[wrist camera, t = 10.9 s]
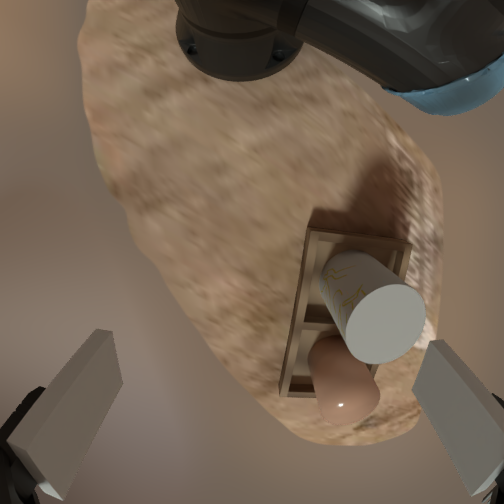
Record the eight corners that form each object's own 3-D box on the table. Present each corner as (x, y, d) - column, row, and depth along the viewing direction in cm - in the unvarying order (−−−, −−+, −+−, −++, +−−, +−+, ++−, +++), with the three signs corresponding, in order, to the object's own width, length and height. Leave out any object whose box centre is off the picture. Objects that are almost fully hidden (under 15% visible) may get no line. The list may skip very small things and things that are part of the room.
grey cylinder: (322, 248, 36) (353, 284, 24) (384, 250, 36) (433, 283, 24) (315, 311, 38) (338, 366, 26) (375, 310, 38) (413, 360, 26)
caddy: (306, 226, 36) (310, 230, 33) (403, 239, 36) (412, 244, 34) (278, 385, 41) (279, 396, 39) (361, 387, 42) (366, 397, 39)
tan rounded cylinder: (312, 333, 39) (328, 380, 29) (362, 335, 39) (388, 379, 29) (302, 376, 40) (313, 425, 31) (349, 376, 41) (368, 423, 31)
